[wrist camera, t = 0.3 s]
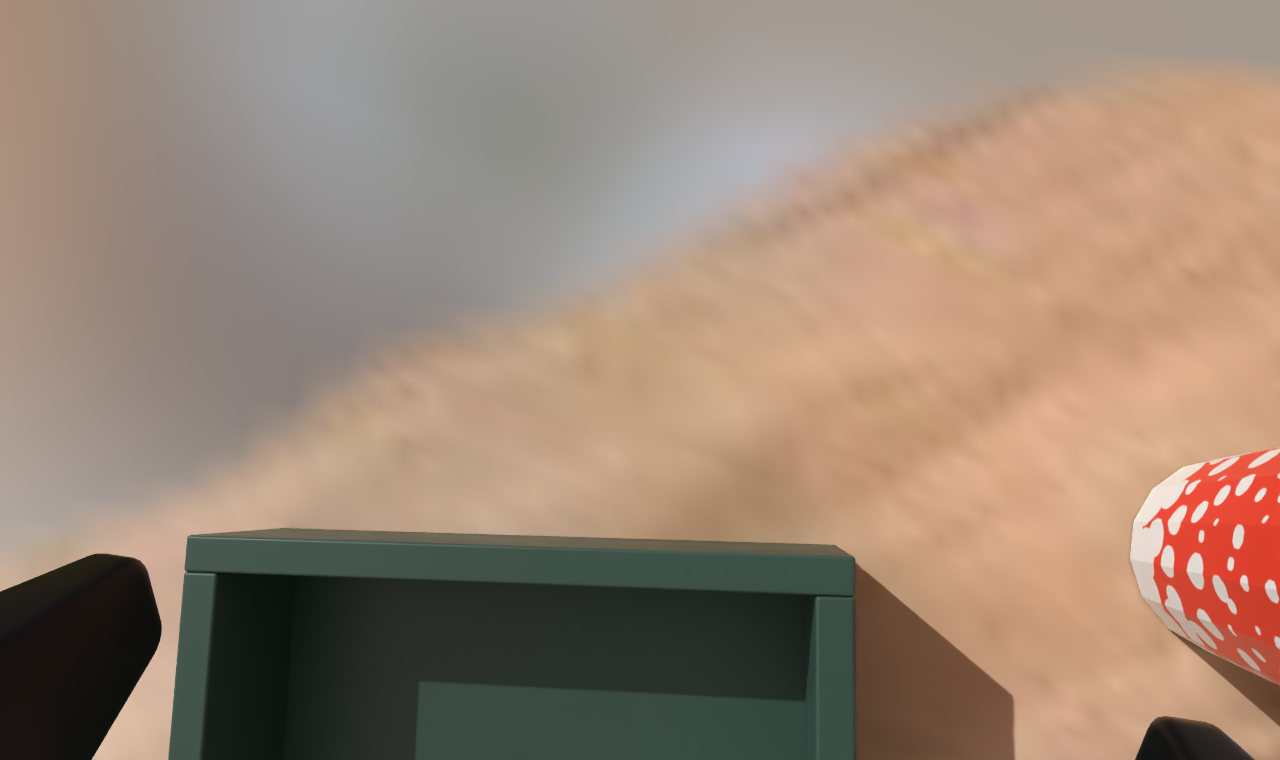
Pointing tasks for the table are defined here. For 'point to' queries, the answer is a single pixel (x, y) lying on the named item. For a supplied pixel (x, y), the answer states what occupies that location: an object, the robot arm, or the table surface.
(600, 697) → the green square tray
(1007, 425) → the table surface
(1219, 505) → the beverage cup
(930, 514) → the table surface
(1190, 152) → the table surface
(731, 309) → the table surface
